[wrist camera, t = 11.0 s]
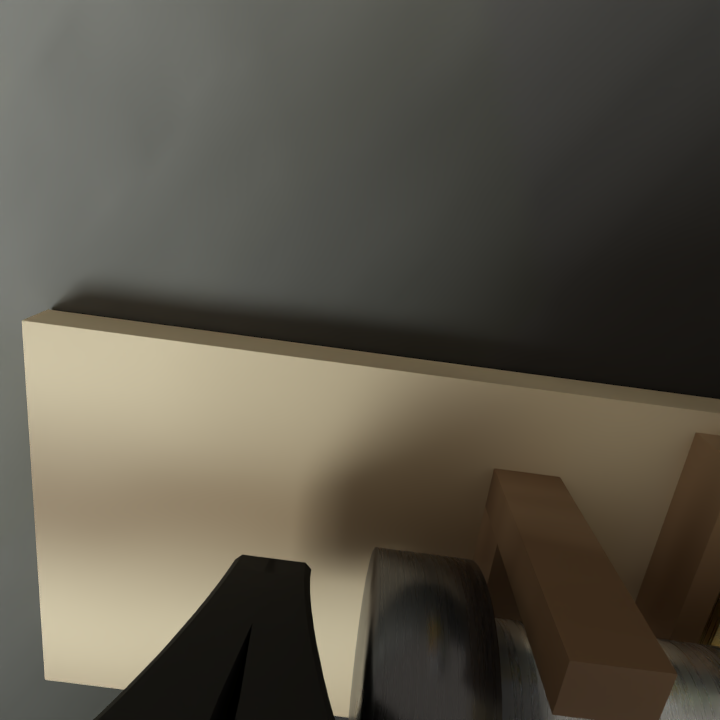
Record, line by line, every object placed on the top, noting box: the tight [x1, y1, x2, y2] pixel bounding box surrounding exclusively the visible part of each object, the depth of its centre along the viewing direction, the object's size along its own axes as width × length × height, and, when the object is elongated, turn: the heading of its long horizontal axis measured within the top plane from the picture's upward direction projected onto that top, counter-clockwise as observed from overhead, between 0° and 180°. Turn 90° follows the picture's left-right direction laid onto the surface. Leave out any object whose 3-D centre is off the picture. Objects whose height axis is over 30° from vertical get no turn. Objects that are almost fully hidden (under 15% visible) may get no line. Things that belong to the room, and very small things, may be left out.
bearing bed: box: [22, 310, 720, 720], centre depth 9 cm, size 8×18×5 cm, turn 83°
